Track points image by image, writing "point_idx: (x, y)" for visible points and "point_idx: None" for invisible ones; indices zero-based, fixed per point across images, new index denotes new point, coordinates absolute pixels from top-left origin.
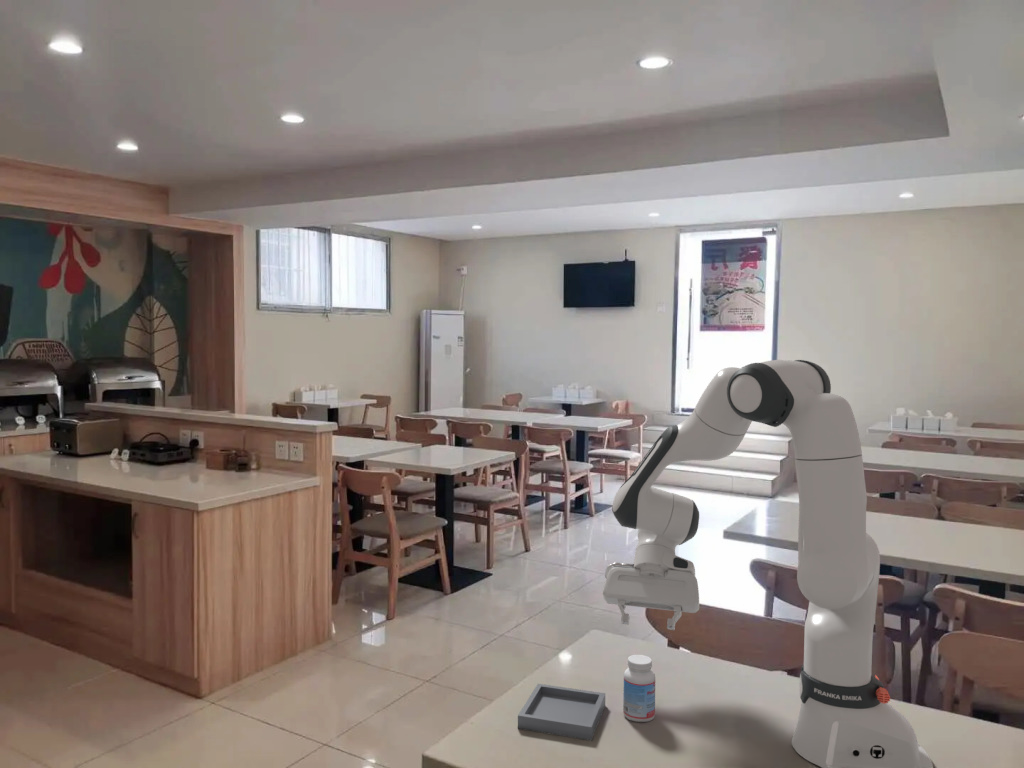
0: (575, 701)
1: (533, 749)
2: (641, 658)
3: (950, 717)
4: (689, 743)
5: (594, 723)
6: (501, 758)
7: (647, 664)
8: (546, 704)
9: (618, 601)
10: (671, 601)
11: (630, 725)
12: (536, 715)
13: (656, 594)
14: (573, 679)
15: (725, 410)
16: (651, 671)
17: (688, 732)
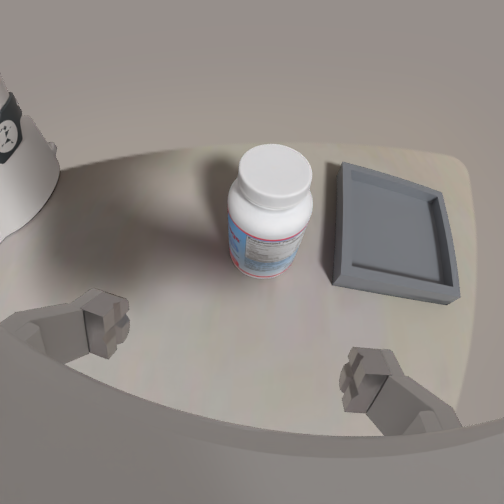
0: (389, 270)
1: (397, 162)
2: (270, 172)
3: None
4: (184, 178)
5: (341, 184)
6: (416, 151)
7: (253, 148)
8: (426, 253)
9: (460, 423)
10: (10, 343)
11: None
12: (426, 219)
13: (96, 453)
14: None
15: None
16: (238, 187)
17: (176, 205)
